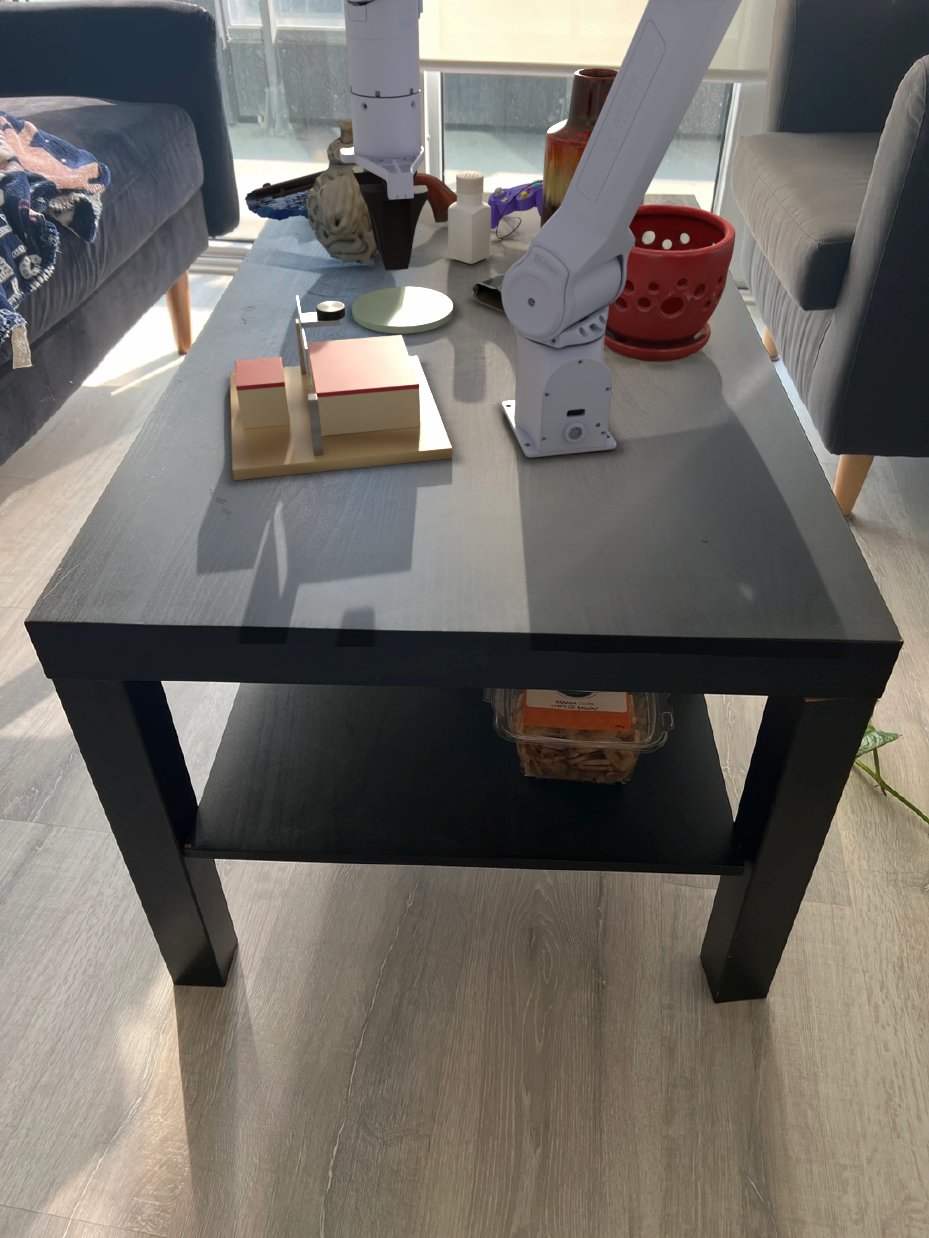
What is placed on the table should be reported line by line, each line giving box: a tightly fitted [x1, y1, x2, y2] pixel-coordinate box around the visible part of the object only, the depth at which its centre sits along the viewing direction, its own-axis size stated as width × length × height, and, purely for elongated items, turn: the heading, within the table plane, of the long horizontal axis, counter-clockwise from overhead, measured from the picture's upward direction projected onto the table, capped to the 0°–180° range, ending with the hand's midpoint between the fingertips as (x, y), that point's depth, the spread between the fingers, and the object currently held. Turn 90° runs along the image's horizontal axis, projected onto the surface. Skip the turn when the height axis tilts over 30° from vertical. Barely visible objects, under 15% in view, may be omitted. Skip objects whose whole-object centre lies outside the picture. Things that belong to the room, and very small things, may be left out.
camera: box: [472, 273, 506, 314], centre depth 101 cm, size 5×10×4 cm, turn 41°
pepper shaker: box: [447, 171, 492, 265], centre depth 111 cm, size 4×4×10 cm
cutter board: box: [229, 318, 453, 481], centre depth 81 cm, size 18×18×6 cm
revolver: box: [253, 169, 457, 224], centre depth 123 cm, size 26×4×12 cm
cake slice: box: [234, 356, 290, 429], centre depth 80 cm, size 5×4×4 cm
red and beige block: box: [306, 334, 421, 436], centre depth 82 cm, size 10×9×4 cm
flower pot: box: [604, 203, 736, 363], centre depth 91 cm, size 13×13×12 cm
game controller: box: [487, 179, 543, 240], centre depth 120 cm, size 10×8×10 cm
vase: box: [539, 67, 619, 230], centre depth 106 cm, size 11×11×20 cm
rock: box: [244, 189, 311, 222], centre depth 127 cm, size 15×17×2 cm
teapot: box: [306, 118, 380, 266], centre depth 109 cm, size 21×12×15 cm, turn 170°
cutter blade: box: [295, 295, 347, 391], centre depth 78 cm, size 11×4×5 cm, turn 12°
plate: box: [351, 286, 454, 335], centre depth 101 cm, size 11×11×1 cm
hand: (392, 259), depth 84 cm, fingers open, 4 cm apart
